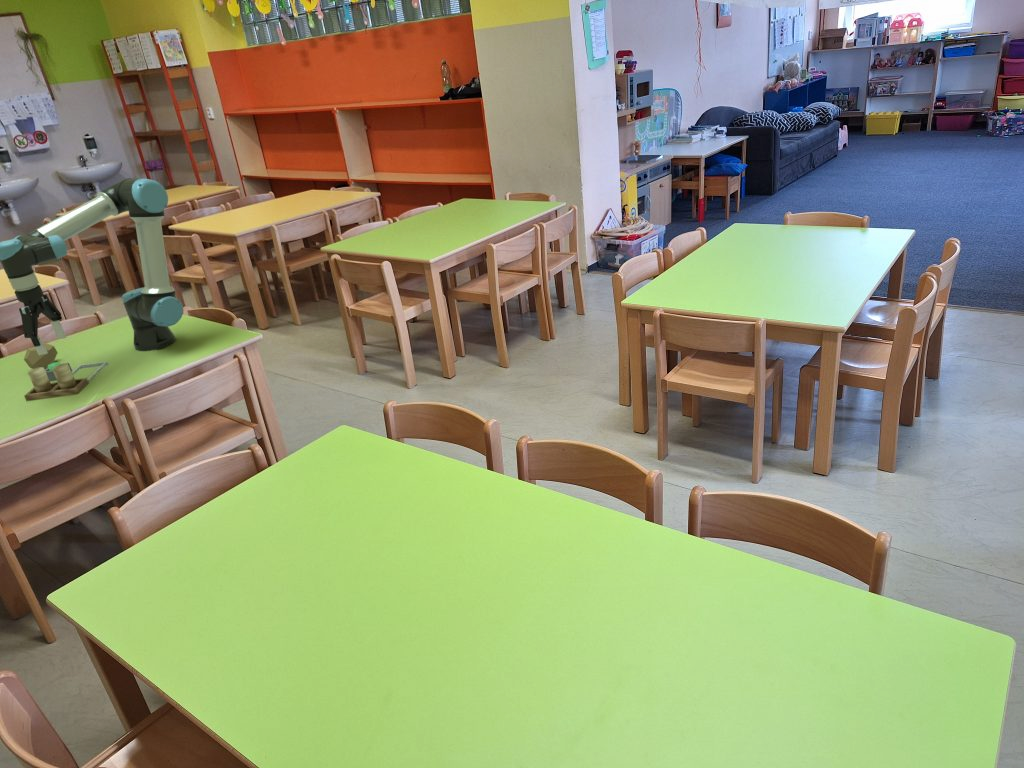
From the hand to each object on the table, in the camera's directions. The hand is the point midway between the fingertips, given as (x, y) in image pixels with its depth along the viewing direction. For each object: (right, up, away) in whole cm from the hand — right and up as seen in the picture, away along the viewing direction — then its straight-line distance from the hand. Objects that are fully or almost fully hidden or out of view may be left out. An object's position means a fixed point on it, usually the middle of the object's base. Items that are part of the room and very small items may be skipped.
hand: (53, 346), depth 245 cm
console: (-11, -11, +21) cm, 26 cm away
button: (-11, -11, +20) cm, 25 cm away
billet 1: (-7, -16, +7) cm, 19 cm away
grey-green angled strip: (-1, -10, +20) cm, 22 cm away
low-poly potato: (-23, -7, +33) cm, 41 cm away
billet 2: (+2, -15, +7) cm, 17 cm away
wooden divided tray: (-2, -17, +7) cm, 18 cm away
